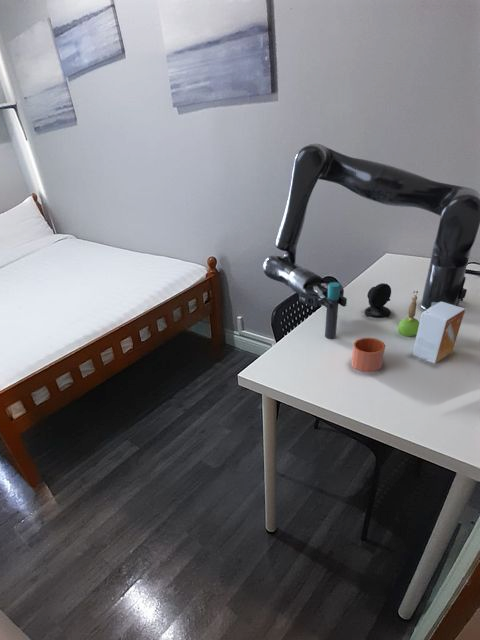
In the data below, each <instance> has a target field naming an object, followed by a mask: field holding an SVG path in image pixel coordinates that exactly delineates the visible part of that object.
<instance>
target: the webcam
mask: <svg viewBox="0 0 480 640" xmlns="http://www.w3.org/2000/svg"><path fill="white" fill-rule="evenodd" d="M391 295H392V287H391V286H390V285H389V284H388V283H385V282H384V283H383V282H382V283H379V284H377V285H375V286H372V287H370V289H369V290H368V292H367V299H368V305H369V306H368V307H366V308H365V309H364V316H366V317H367V318H374V319H383V318H389V317H390V316H391V314H392V311H391V310H390V308H388V307H386V306H385V305H386V304H387V303H388V302H390V301H391ZM372 311H373V312H375V313H377V314H374V313H372Z"/></svg>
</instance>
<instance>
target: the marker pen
mask: <svg viewBox="0 0 480 640" xmlns="http://www.w3.org/2000/svg"><path fill="white" fill-rule="evenodd" d="M340 283H341V282H339V283H338V282H337V281H333V282H332V281H331V282H329V283H327V284H328V299H330V300H332V301H333V302H334V303H335V309H334V310H330V309H328V308H326V311H325V312H326V314H325V326H324V327H325V329H324V337H325V338H326V339H334V338H336V336H337V325H338V313H339V305H340V304H339V293H340Z"/></svg>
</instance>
